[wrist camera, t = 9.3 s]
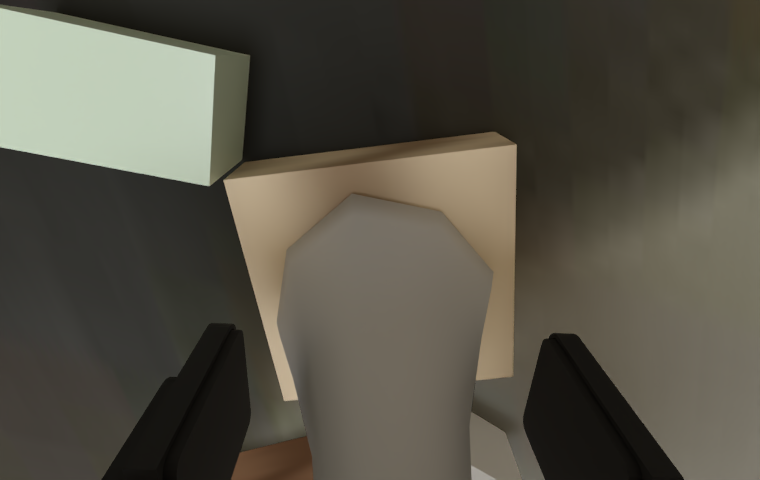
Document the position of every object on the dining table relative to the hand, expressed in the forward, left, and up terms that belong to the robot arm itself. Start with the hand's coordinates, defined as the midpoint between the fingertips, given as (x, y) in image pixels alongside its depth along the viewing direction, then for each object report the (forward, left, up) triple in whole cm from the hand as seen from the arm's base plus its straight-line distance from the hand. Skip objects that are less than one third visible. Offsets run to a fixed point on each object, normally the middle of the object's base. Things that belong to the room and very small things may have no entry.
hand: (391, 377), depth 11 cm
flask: (0, 0, -4) cm, 4 cm away
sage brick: (+8, -6, -7) cm, 12 cm away
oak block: (0, 0, -7) cm, 7 cm away
